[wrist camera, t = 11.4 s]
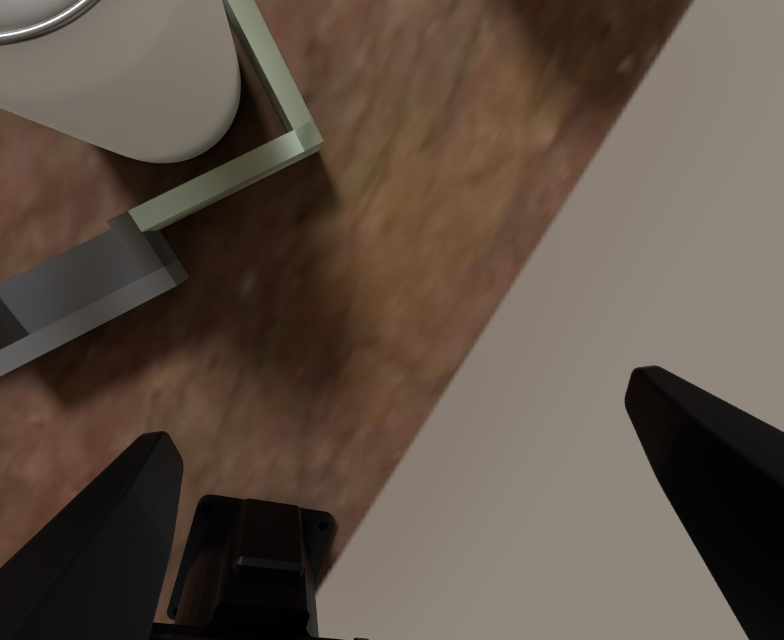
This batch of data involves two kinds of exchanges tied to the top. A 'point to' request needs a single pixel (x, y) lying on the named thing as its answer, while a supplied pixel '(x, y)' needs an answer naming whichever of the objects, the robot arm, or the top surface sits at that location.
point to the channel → (148, 226)
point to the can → (122, 72)
